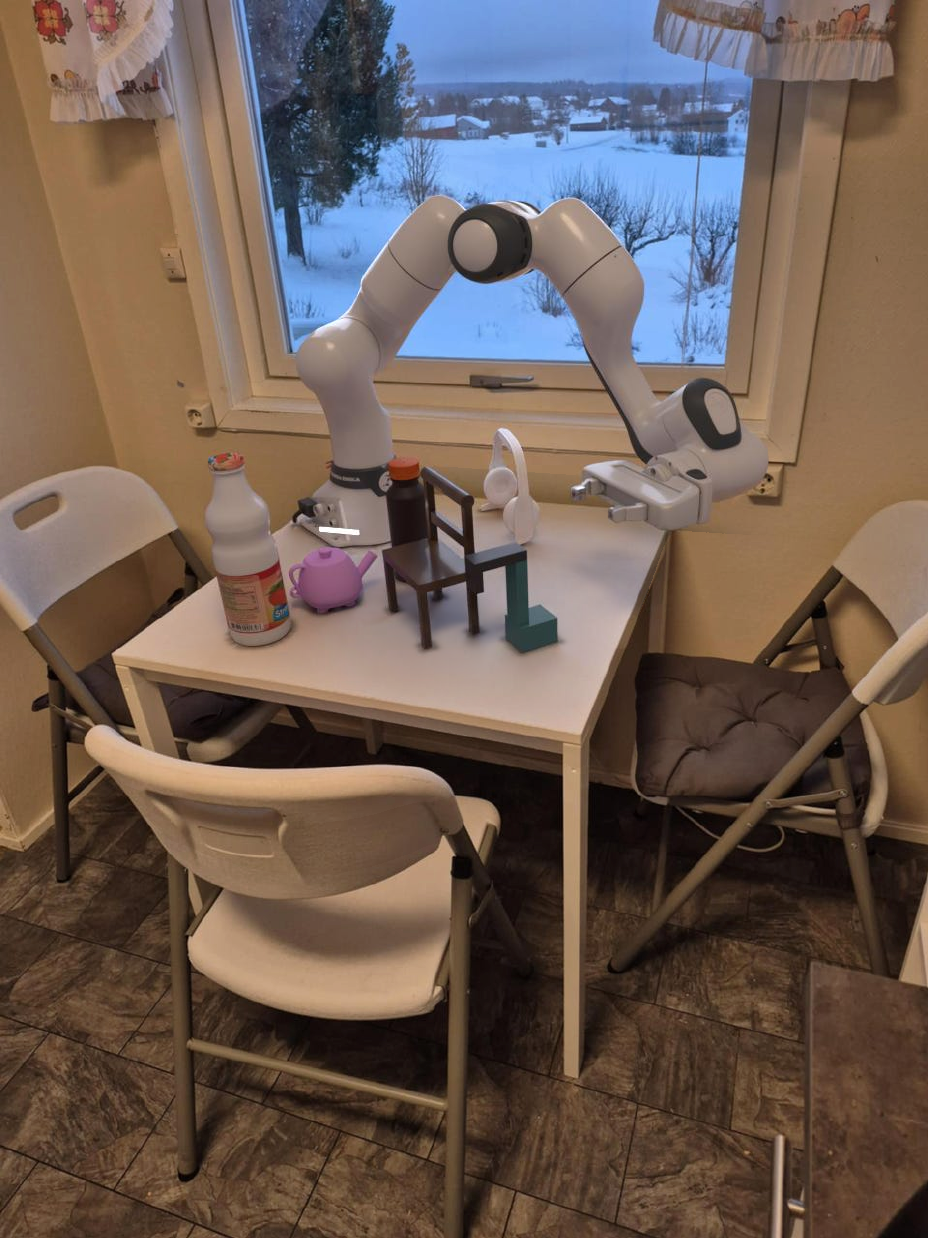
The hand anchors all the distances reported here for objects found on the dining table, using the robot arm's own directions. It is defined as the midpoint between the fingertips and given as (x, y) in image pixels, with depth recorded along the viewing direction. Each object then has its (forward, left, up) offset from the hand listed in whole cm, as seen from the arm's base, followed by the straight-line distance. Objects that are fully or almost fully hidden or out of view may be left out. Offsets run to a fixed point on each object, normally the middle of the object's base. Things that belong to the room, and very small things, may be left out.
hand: (591, 504), depth 119 cm
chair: (-19, -14, -19) cm, 30 cm away
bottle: (-33, -5, -19) cm, 38 cm away
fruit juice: (-38, -33, -19) cm, 54 cm away
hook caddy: (-4, -11, -19) cm, 22 cm away
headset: (-33, +20, -19) cm, 43 cm away
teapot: (-36, -19, -19) cm, 45 cm away
